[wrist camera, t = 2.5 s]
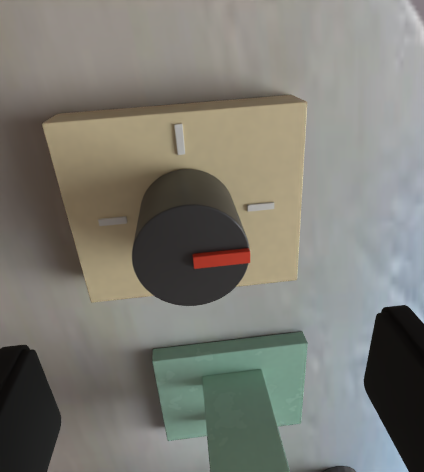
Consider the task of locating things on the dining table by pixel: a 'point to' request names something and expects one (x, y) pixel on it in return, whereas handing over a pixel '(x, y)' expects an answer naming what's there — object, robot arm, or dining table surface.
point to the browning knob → (189, 239)
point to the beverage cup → (340, 469)
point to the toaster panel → (174, 158)
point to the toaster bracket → (234, 397)
